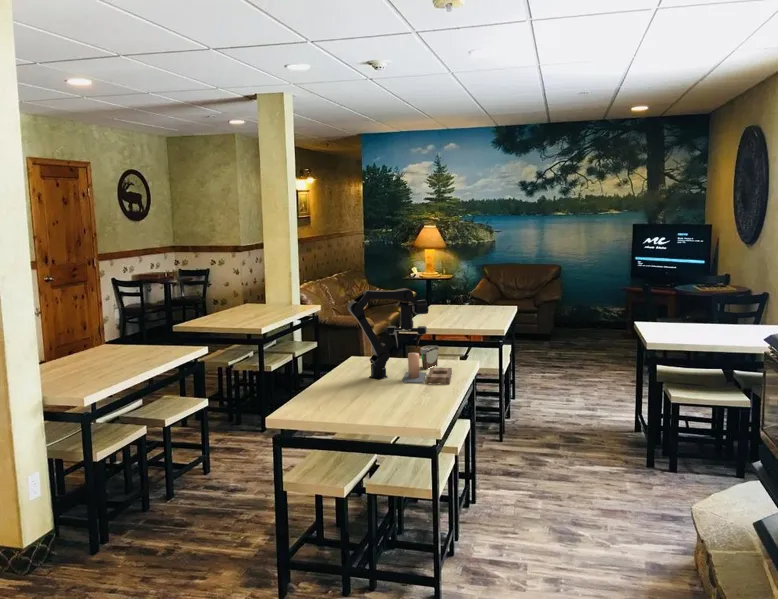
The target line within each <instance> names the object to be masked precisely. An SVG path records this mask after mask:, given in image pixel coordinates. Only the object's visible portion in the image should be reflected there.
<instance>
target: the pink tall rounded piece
mask: <svg viewBox="0 0 778 599" xmlns="http://www.w3.org/2000/svg"><path fill="white" fill-rule="evenodd" d="M407 364H408V365H407V367H408V368H407V369H408V370H407V372H408V377H409V378H419V377H420V373H419V372H420V352H409V353H407Z"/></svg>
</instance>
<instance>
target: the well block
mask: <svg viewBox="0 0 778 599" xmlns="http://www.w3.org/2000/svg"><path fill="white" fill-rule="evenodd" d="M452 370H453V368H452V367H433V368H430V369H429V372H428V374H427V384H428V383H443V384H442V385H450V384H451V380H452V376H451V375H453V371H452Z"/></svg>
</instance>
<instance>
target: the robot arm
mask: <svg viewBox="0 0 778 599" xmlns="http://www.w3.org/2000/svg"><path fill="white" fill-rule="evenodd" d="M371 300H397V301H398V302H397V303H396V304H395V307H398V308H399V310H400V311H399V312H400V315H399V318H398V326H400V327H397V326H396V325H388V326H387V327H386V331H385V334H387V335H388V336H391V338H392V340H393V342H394V345H395V347H396V349H398V348H399V347H398V346H399V342H398V337H397V336H398V333H416V341H415V349H417V348H418V345H419V342H420V340H421V337H423V336H424V335H426V334H427V332H428V328H427V326H425V325H421V326H420V325H418V327H414V320H413V313H414V315H416V316H418V315H427V314H428V313H429V304H428V303H427V300H426V299H420V300H417V298H415V296H414V291H413V290H412V289H409V288H398V289H394V290H369V289H367V290H366V289H365V290H364V291H363V292H362V293H361V294H360V295H358V296H357V297H356V298H354V299H353V300H351V301H350V302H348V304H347V307H346V308H347V311H348V312H349V313H350V314H351V315H352V317H353V318H354V319H355V320H356V321H357V322H358V324H359V326H360V328H361V330H362V331H363V333H364V335H365V336H366V338H367V340H368V342H369V344H370V345H371V350H372V353H373V355H372V356H371V357H369V361H370V376H368V378H370V379H374V378H375V380H382V379H385V378H388V377H387V376H388V375H387V368H386V365H387V363H388V361H389V360H390V356H391V354H390V353H391V351H390V350H389V349H388V347H387V344H385V343H383V342H380V341H379V339H378V337H377V335H376V333H375V331H374V330H373V328H372V326H371V324H370V323H369V321H368V319H367V318H366V312H365V309H364V308H365V307H366V306H367V305H368V304H369V302H370V301H371ZM384 377H385V378H384ZM381 378H382V379H381Z"/></svg>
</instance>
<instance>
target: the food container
mask: <svg viewBox="0 0 778 599" xmlns="http://www.w3.org/2000/svg"><path fill="white" fill-rule="evenodd" d="M419 354H421V355H420V356H421V367H422V369H423V368H425V369H424V370H426V369H428V368H430V367H432V366H435V365H437V366H438V364H439V359H438V358H439V345H425V346H422V347H420V350H419ZM428 370H429V369H428Z"/></svg>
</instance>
